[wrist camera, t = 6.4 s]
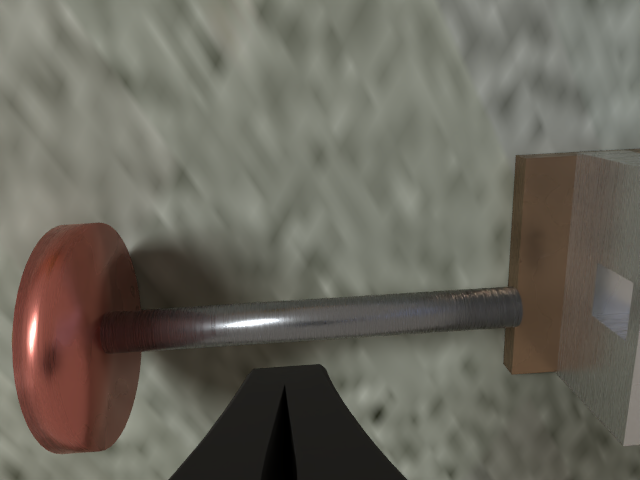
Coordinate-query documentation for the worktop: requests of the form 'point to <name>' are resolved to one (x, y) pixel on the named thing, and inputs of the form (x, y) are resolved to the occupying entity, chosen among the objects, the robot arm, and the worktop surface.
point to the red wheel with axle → (174, 331)
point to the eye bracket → (580, 279)
